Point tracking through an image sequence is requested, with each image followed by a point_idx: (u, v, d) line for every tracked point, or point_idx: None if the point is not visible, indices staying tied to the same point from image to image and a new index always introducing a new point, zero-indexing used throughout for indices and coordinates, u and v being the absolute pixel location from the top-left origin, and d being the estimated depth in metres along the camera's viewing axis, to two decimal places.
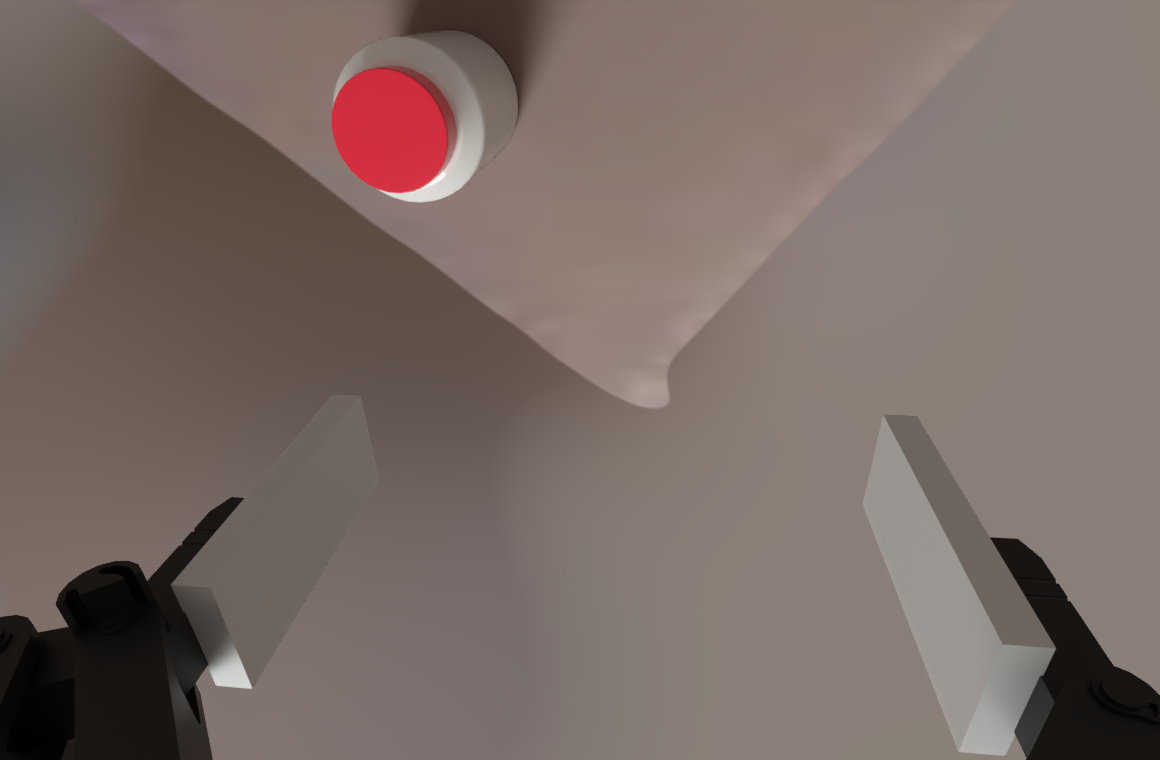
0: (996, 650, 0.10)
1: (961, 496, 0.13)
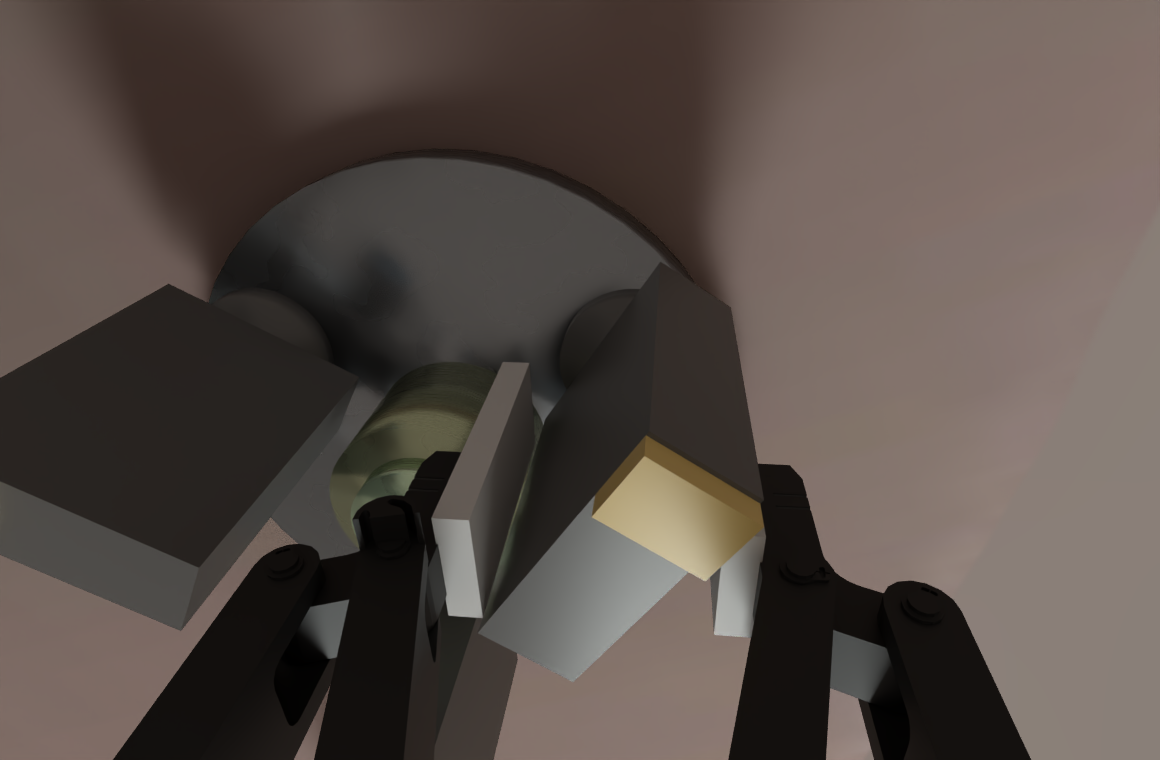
0: None
1: None
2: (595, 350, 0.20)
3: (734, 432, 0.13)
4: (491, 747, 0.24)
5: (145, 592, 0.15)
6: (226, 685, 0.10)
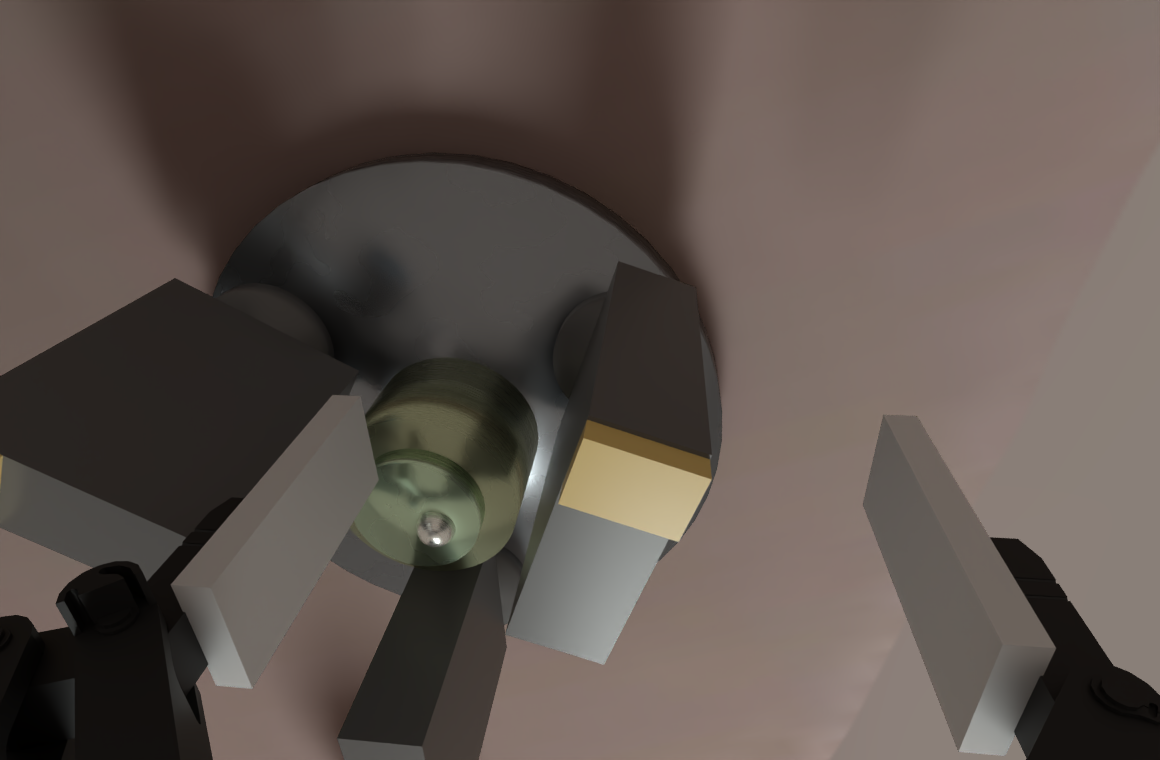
0: (996, 650, 0.10)
1: (961, 496, 0.13)
2: (584, 357, 0.21)
3: (685, 400, 0.14)
4: (481, 729, 0.24)
5: None
6: None
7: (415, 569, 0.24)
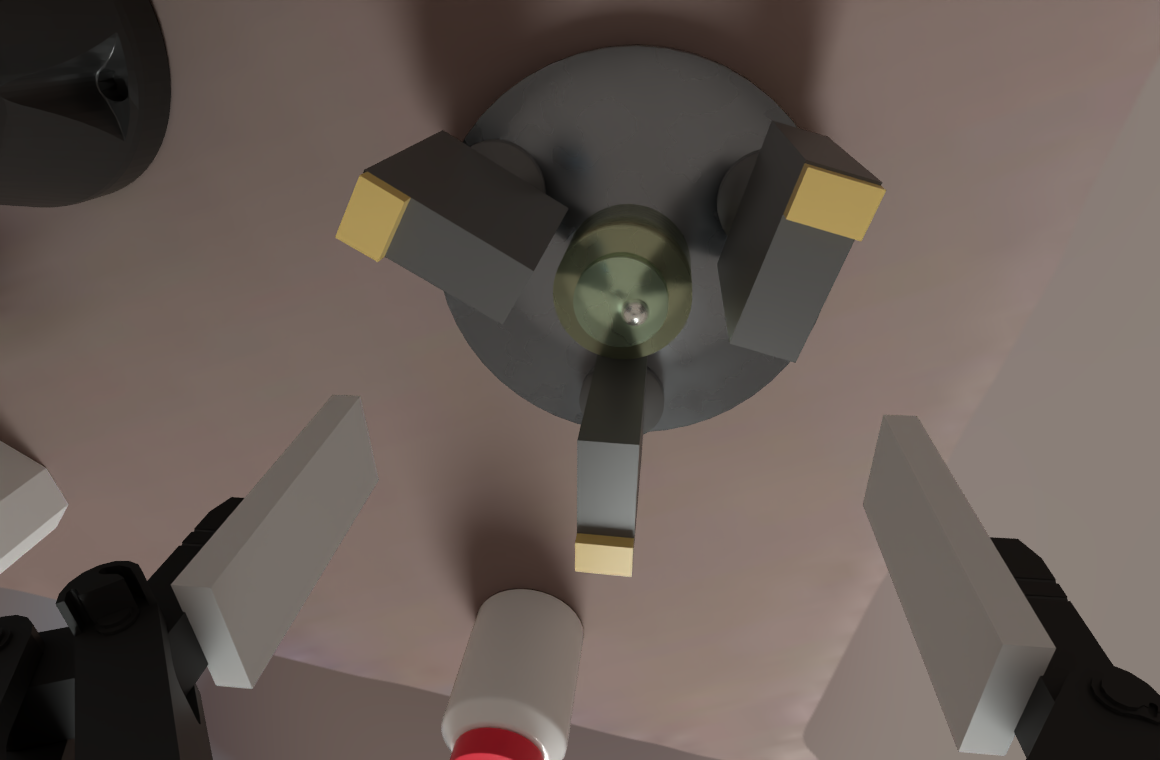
0: (996, 650, 0.10)
1: (961, 496, 0.13)
2: (742, 198, 0.29)
3: (854, 166, 0.22)
4: None
5: (488, 292, 0.23)
6: None
7: (596, 365, 0.31)
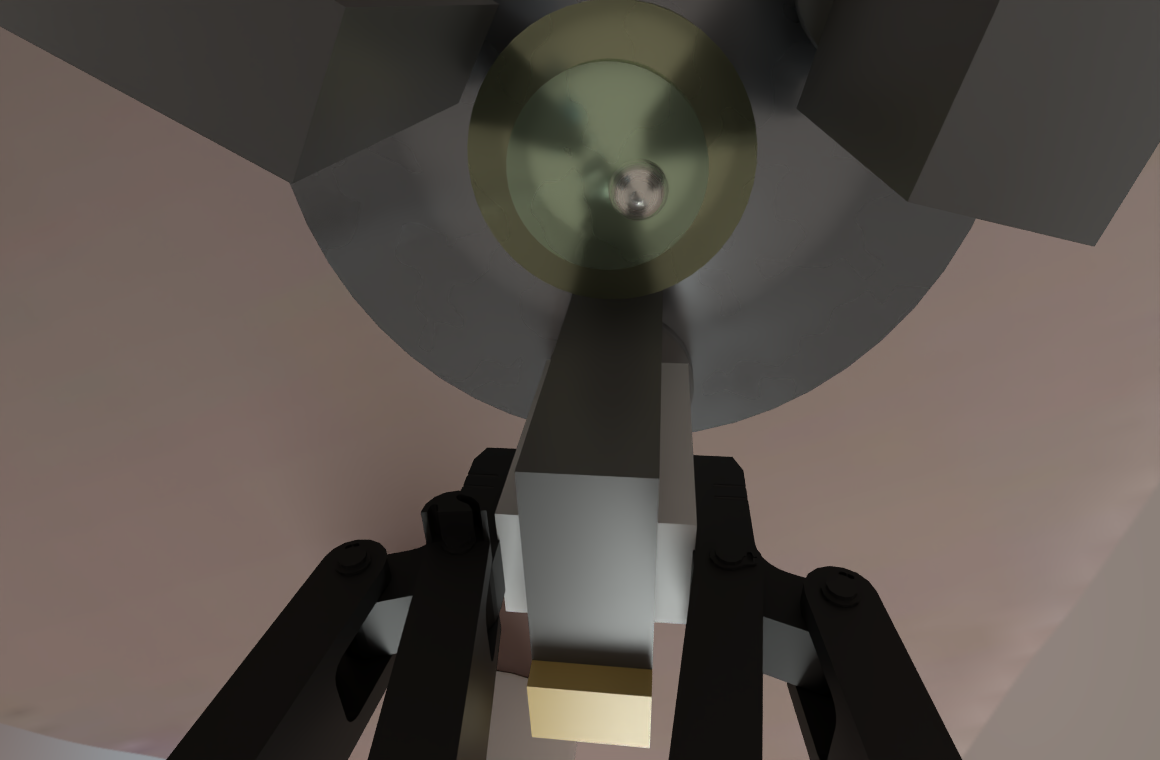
0: None
1: (688, 422, 0.16)
2: None
3: None
4: None
5: (239, 88, 0.09)
6: (290, 678, 0.10)
7: (568, 317, 0.17)
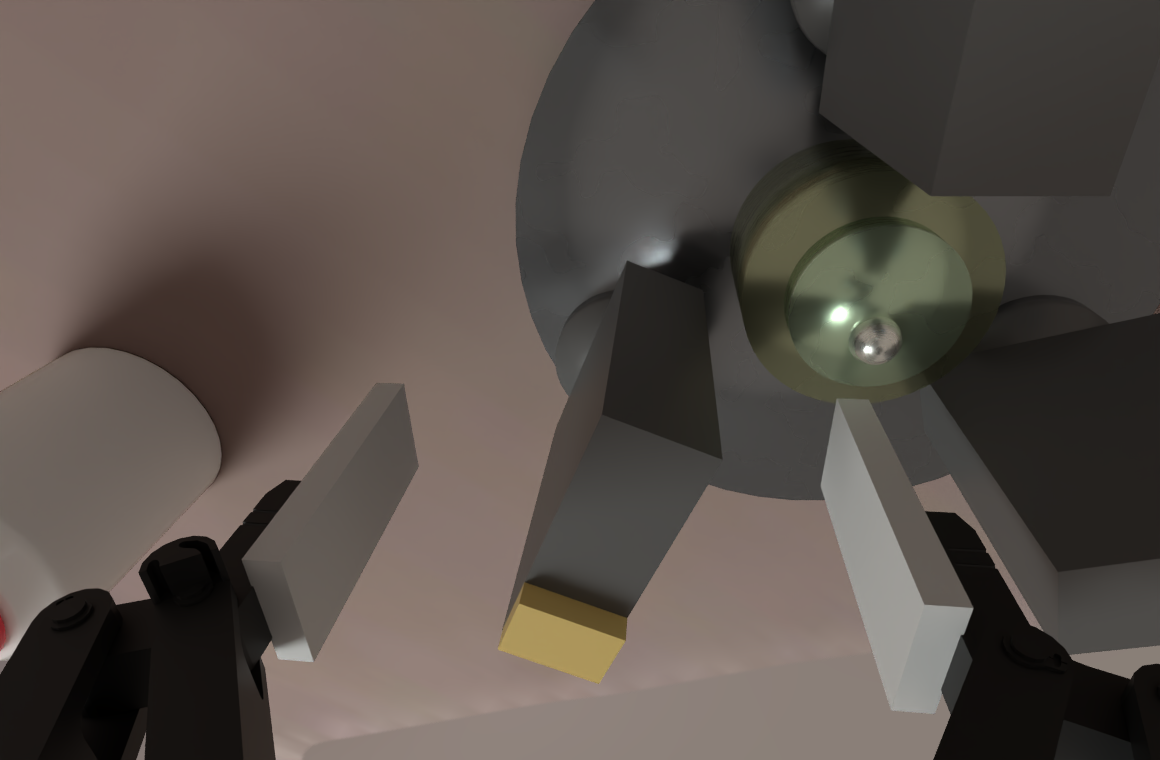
0: (920, 611, 0.11)
1: (902, 472, 0.14)
2: (1034, 342, 0.19)
3: None
4: None
5: (1011, 125, 0.09)
6: (24, 743, 0.09)
7: (625, 288, 0.18)
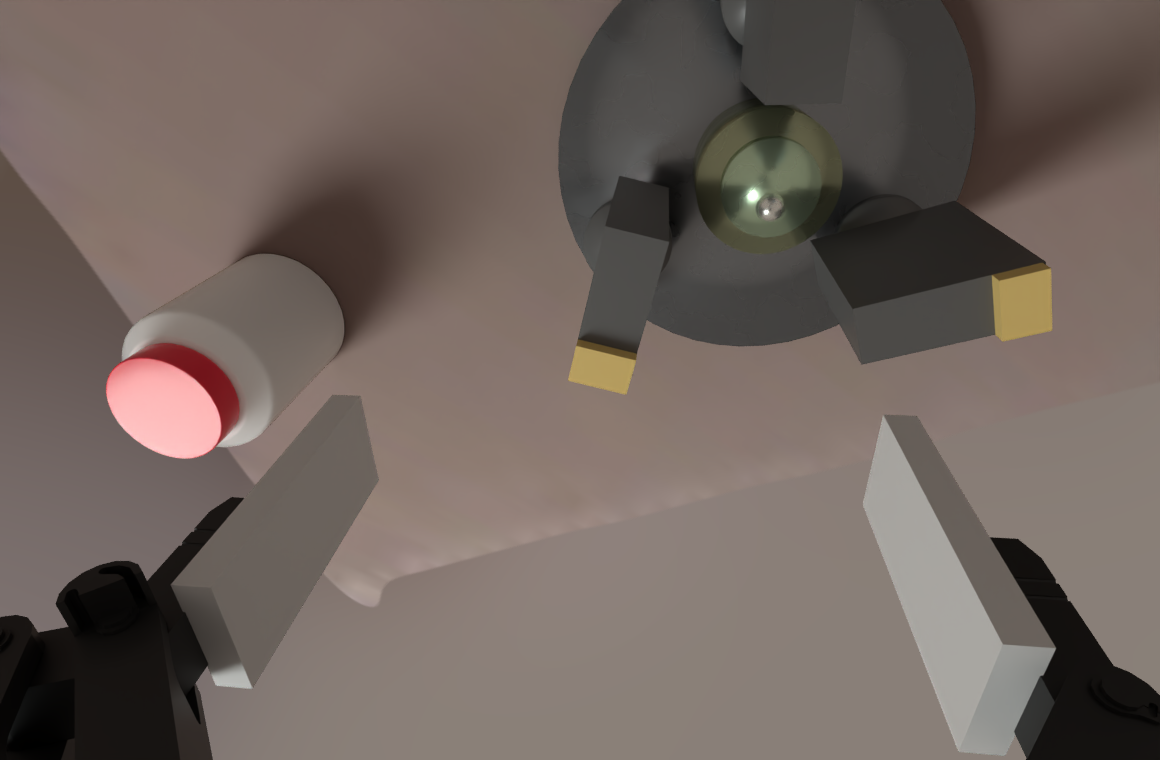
0: (996, 650, 0.10)
1: (961, 496, 0.13)
2: (879, 222, 0.31)
3: None
4: None
5: (794, 71, 0.21)
6: None
7: (618, 186, 0.30)
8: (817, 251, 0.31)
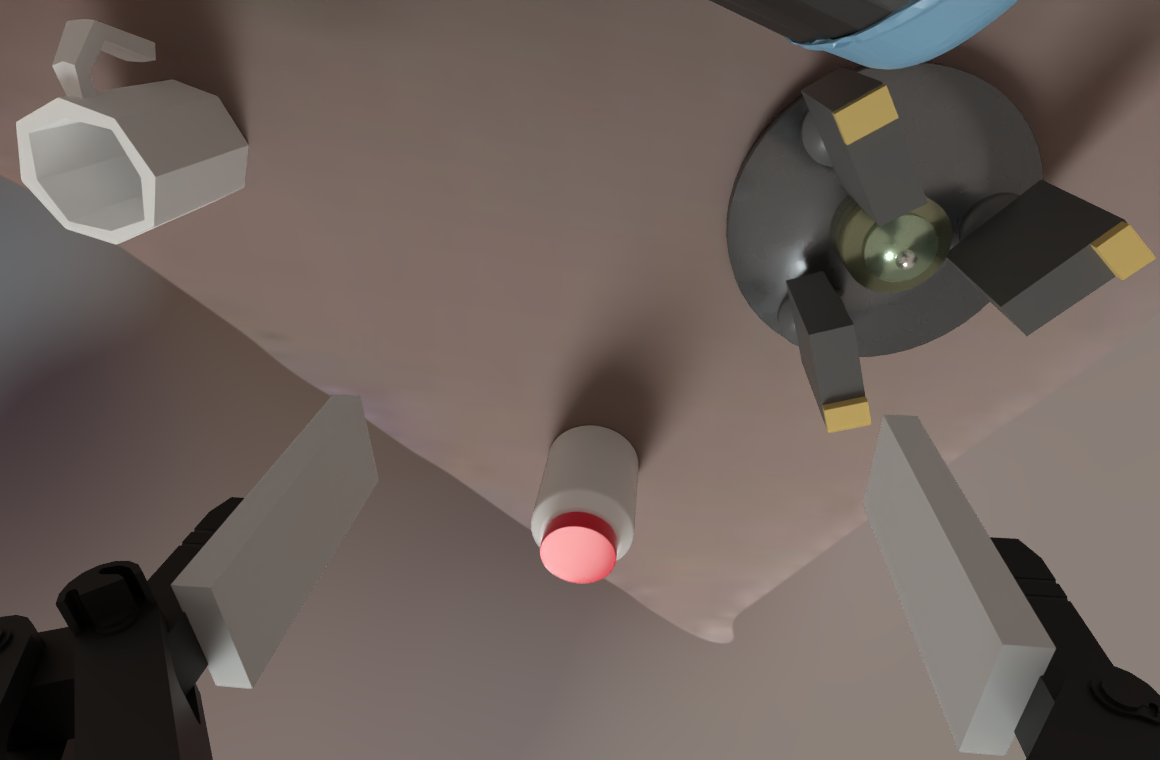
0: (996, 650, 0.10)
1: (961, 496, 0.13)
2: (989, 220, 0.41)
3: None
4: None
5: (889, 202, 0.33)
6: None
7: (792, 292, 0.43)
8: (954, 263, 0.41)
